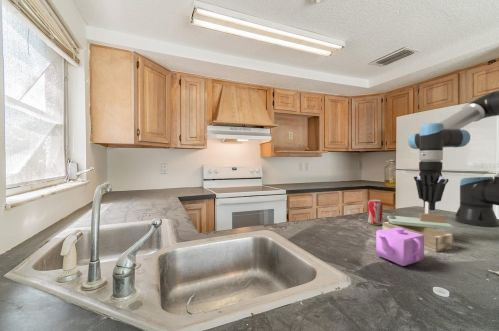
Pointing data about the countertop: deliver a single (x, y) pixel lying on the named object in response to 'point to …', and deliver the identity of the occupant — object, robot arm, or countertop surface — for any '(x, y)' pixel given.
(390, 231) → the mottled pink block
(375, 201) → the beverage can
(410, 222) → the cover
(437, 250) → the trough
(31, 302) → the countertop surface
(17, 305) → the countertop surface
